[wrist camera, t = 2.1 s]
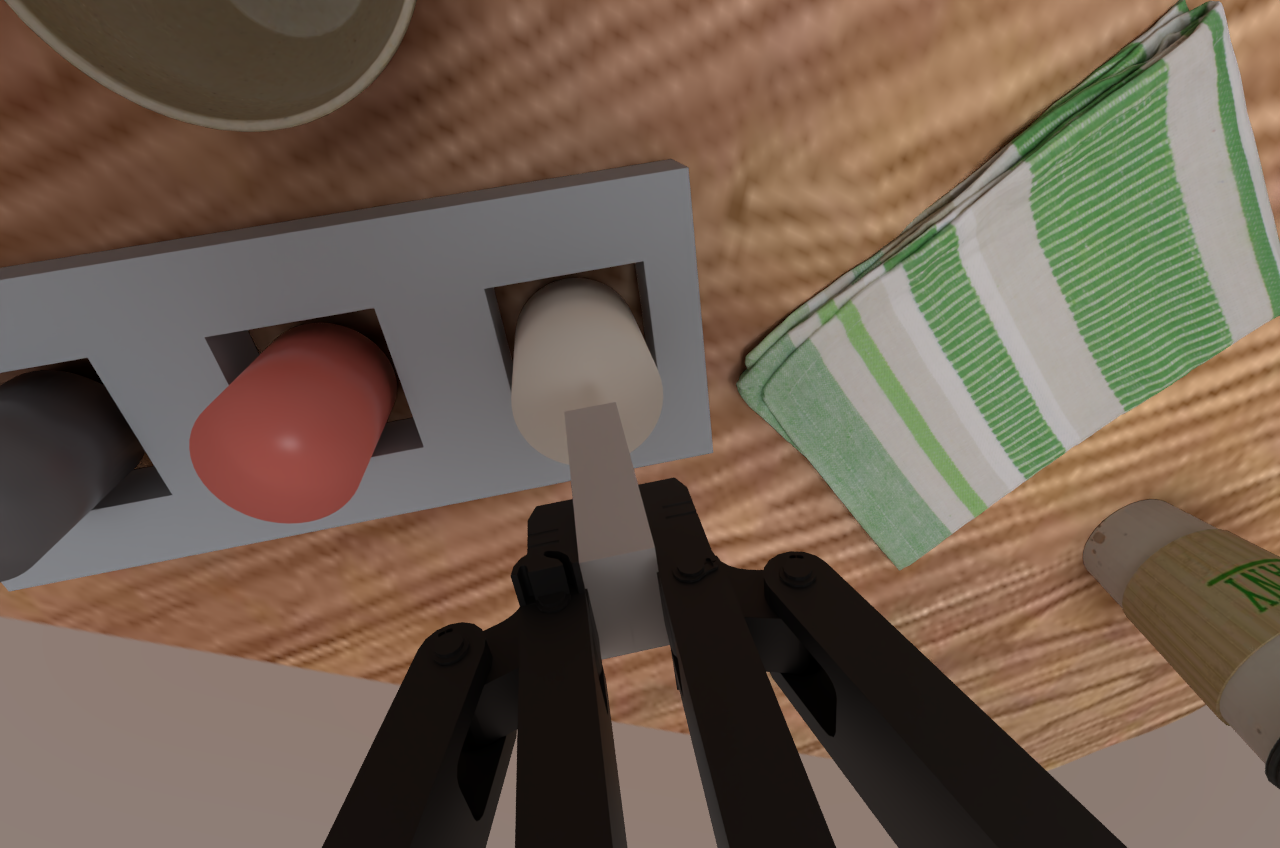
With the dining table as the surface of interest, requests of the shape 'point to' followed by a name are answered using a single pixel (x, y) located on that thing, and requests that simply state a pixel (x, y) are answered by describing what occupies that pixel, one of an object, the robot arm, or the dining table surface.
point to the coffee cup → (1201, 611)
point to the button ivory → (581, 364)
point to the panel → (412, 326)
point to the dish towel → (1035, 294)
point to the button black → (55, 460)
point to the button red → (296, 425)
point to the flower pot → (226, 53)
